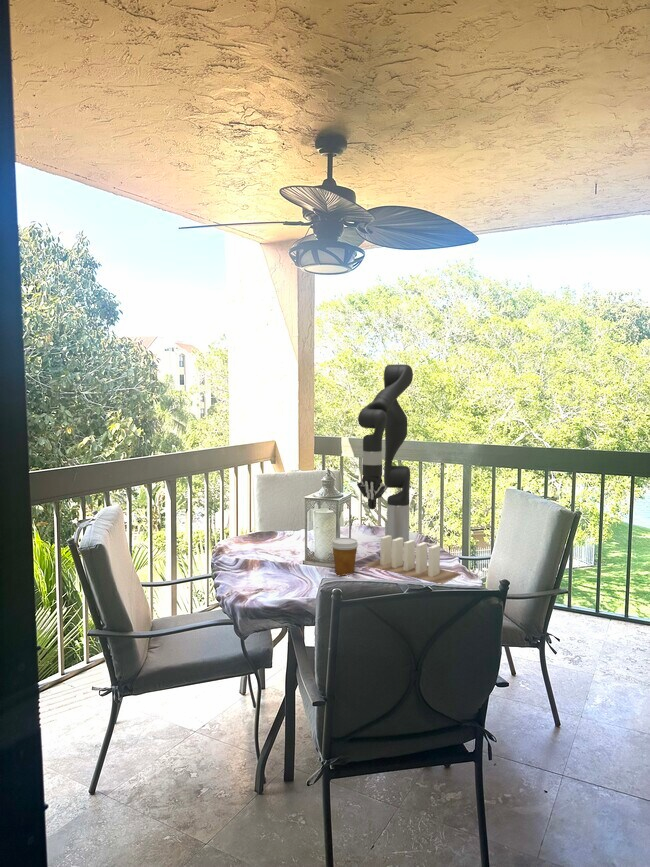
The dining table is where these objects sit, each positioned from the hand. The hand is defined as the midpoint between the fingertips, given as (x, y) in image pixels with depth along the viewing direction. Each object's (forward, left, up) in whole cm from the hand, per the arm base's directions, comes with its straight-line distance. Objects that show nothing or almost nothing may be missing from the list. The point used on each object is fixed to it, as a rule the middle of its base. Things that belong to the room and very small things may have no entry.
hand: (372, 508), depth 213 cm
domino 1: (+6, 0, -20) cm, 21 cm away
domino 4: (+21, 0, -20) cm, 29 cm away
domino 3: (+16, 0, -20) cm, 26 cm away
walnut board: (+17, 0, -20) cm, 27 cm away
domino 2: (+11, 0, -20) cm, 23 cm away
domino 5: (+26, 0, -20) cm, 33 cm away
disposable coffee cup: (0, -17, -21) cm, 27 cm away
